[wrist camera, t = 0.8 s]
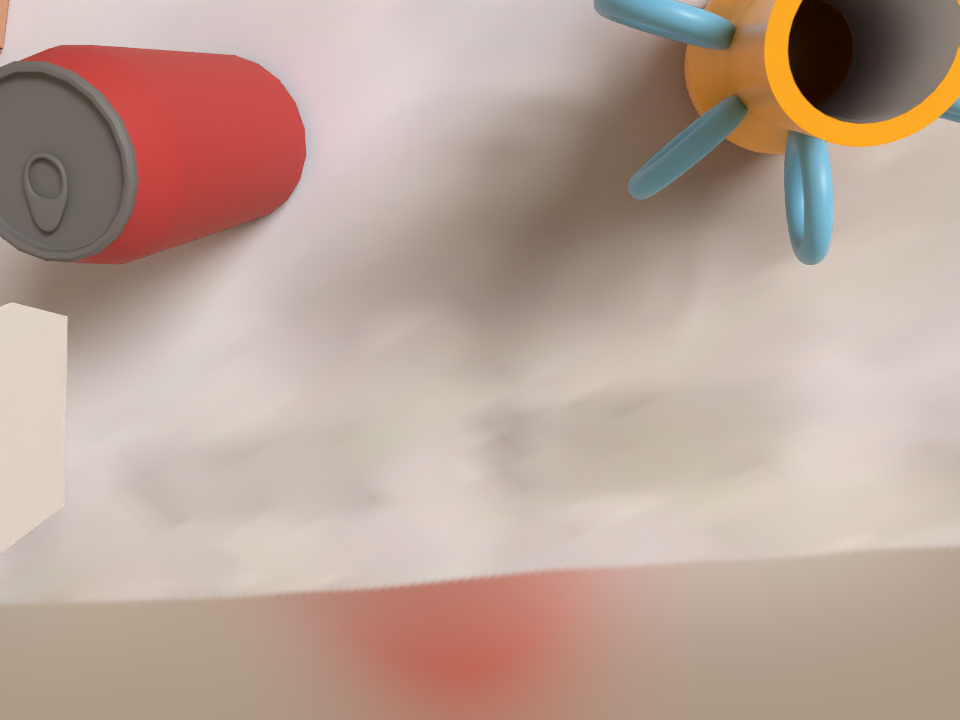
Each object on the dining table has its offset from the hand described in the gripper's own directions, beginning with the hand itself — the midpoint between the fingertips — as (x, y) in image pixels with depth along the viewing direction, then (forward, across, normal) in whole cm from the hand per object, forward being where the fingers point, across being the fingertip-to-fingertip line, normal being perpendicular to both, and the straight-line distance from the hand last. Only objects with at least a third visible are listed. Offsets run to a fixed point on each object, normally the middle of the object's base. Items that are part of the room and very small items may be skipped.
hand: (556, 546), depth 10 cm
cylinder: (+25, +4, +6) cm, 26 cm away
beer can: (+25, -16, -1) cm, 30 cm away
